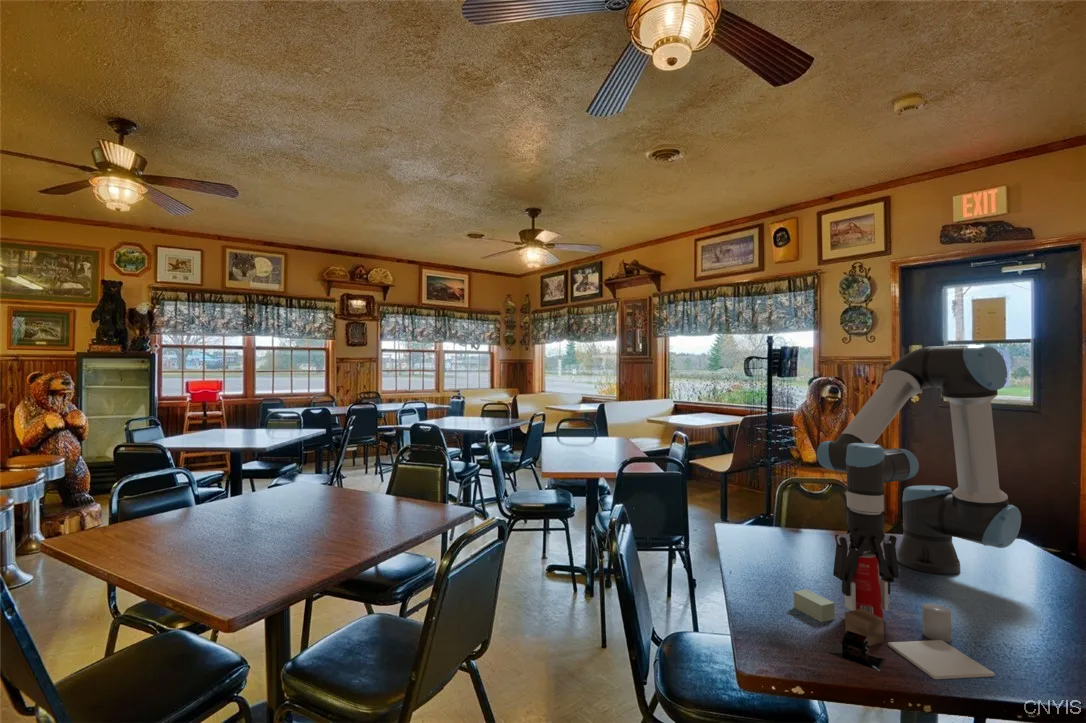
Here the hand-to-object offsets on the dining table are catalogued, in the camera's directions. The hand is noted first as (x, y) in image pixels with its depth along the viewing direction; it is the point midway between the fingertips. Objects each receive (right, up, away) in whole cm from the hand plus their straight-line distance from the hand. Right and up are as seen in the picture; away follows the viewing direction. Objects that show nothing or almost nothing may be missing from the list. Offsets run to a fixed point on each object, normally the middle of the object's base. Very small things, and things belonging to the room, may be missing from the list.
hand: (866, 608), depth 122 cm
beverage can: (0, -2, 0) cm, 2 cm away
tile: (+3, -2, -18) cm, 18 cm away
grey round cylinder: (+10, -2, -9) cm, 13 cm away
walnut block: (-6, -2, -10) cm, 12 cm away
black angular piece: (-12, -3, -16) cm, 20 cm away
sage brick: (-11, -2, +2) cm, 12 cm away
